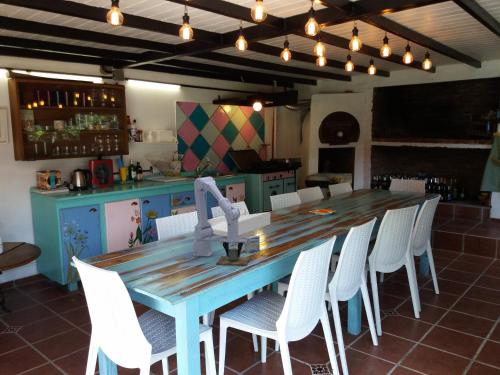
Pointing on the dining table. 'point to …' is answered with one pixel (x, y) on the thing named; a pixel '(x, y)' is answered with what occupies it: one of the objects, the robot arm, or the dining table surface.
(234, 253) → the cap
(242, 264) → the post board
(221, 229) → the white long open box
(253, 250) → the medicine box
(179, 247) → the dining table surface
